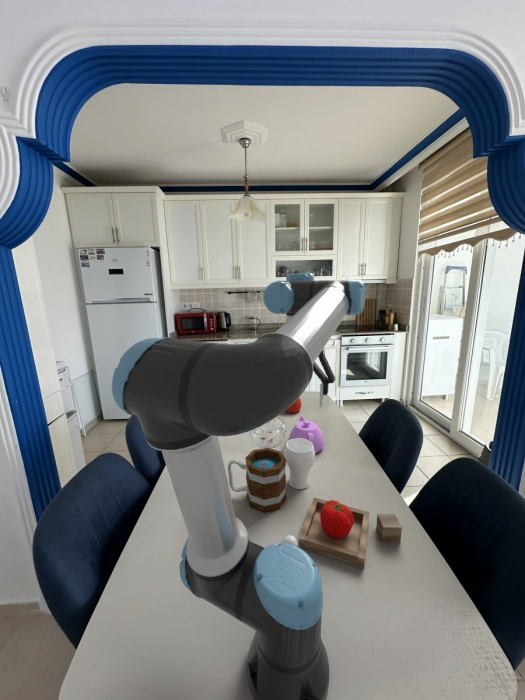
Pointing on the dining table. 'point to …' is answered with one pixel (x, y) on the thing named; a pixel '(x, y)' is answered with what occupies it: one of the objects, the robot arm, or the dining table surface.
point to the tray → (339, 549)
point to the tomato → (336, 519)
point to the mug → (263, 479)
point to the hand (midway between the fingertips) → (298, 401)
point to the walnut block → (388, 528)
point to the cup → (299, 461)
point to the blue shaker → (290, 540)
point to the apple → (295, 406)
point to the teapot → (308, 433)
